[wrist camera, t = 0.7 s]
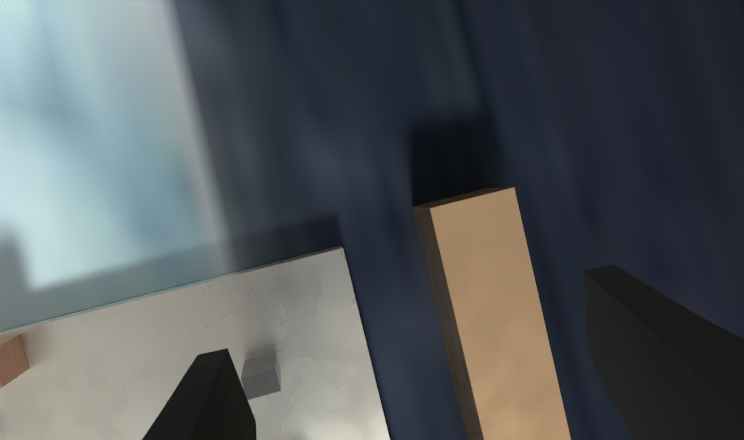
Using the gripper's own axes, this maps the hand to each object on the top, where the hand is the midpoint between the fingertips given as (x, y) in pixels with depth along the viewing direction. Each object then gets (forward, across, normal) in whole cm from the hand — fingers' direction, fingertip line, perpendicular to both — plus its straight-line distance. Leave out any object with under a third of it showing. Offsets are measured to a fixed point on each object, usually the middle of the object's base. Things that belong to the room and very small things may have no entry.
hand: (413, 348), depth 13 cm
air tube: (+16, -4, +16) cm, 22 cm away
